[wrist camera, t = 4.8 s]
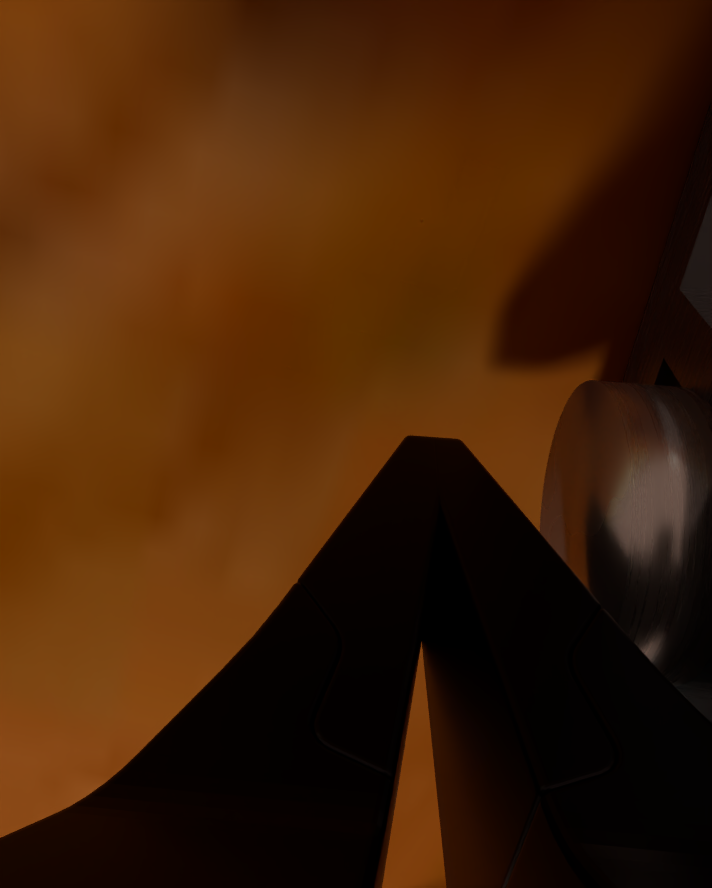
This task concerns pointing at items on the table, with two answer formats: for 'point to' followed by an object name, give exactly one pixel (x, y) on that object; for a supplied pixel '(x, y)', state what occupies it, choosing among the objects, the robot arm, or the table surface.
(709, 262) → the hinge
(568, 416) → the pin
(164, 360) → the table surface
